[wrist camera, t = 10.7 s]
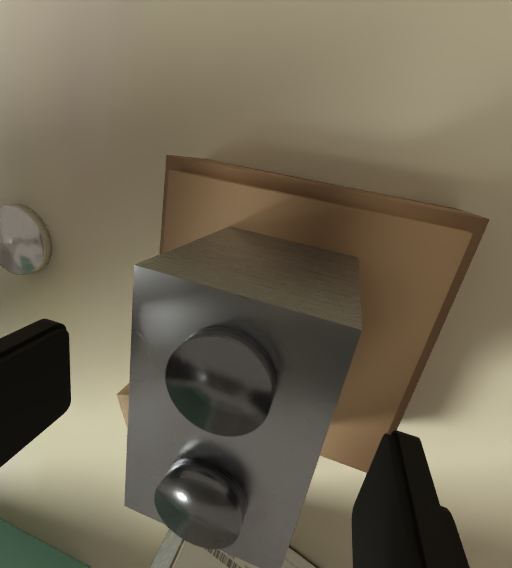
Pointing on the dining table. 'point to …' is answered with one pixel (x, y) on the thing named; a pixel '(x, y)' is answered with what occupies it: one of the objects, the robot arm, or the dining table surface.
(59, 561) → the box
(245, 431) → the block
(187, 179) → the tray
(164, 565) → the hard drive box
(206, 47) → the dining table surface
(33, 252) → the chrome dome
